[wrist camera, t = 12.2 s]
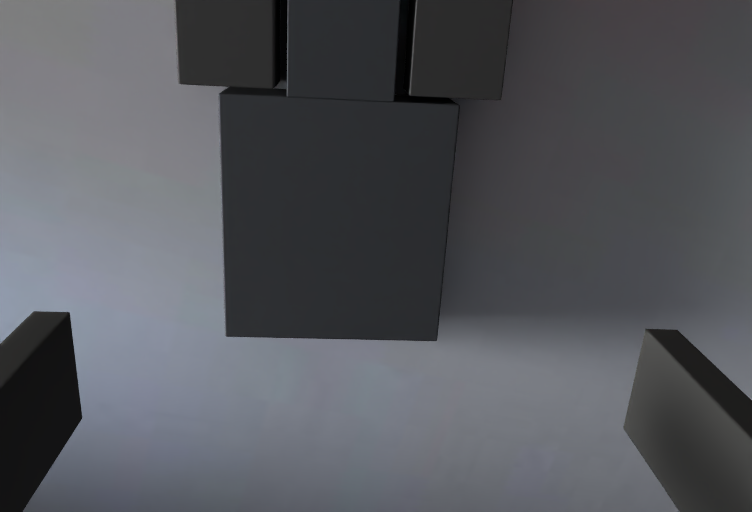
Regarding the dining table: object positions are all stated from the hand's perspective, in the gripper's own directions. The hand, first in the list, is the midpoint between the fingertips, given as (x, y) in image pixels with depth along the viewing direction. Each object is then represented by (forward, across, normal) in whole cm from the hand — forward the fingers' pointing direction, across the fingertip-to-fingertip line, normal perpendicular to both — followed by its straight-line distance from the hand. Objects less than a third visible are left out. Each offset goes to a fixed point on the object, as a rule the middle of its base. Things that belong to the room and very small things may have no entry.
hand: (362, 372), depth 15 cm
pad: (+14, -1, +2) cm, 14 cm away
